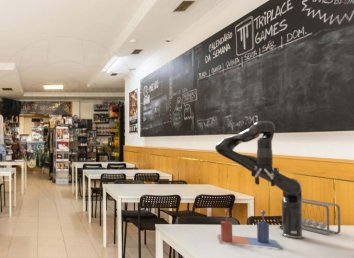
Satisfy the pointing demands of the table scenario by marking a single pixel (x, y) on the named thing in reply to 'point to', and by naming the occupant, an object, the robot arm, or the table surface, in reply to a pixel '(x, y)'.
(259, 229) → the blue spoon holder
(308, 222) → the newton's cradle
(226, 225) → the terracotta spoon holder
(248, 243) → the sorting board
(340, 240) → the table surface
